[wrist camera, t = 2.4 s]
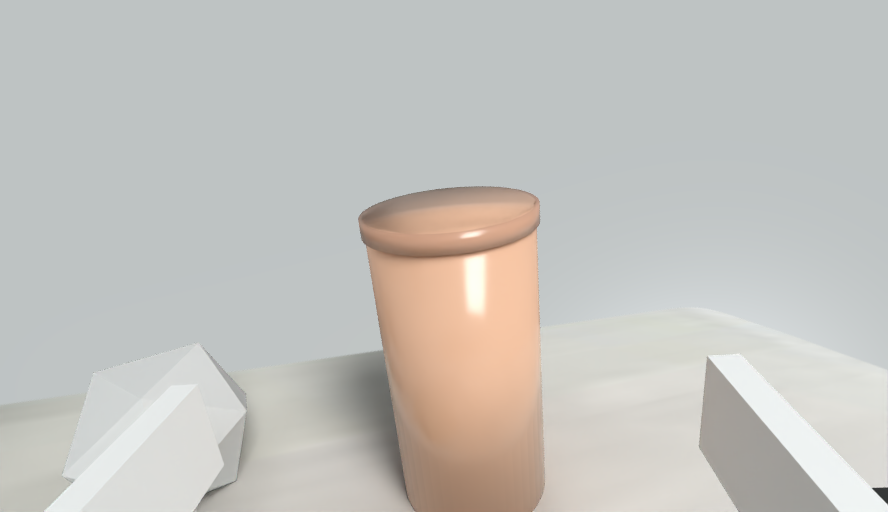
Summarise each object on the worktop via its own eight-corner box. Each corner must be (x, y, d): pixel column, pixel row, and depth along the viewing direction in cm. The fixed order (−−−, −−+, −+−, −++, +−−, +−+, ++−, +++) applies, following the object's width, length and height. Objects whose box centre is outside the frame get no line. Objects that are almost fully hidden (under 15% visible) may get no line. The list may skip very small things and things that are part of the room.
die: (265, 421, 33) (151, 329, 31) (307, 416, 26) (166, 298, 24) (168, 540, 28) (25, 441, 26) (191, 571, 21) (0, 441, 19)
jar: (386, 451, 28) (343, 205, 23) (503, 410, 30) (488, 179, 25) (431, 566, 21) (384, 250, 16) (578, 501, 24) (578, 208, 18)
